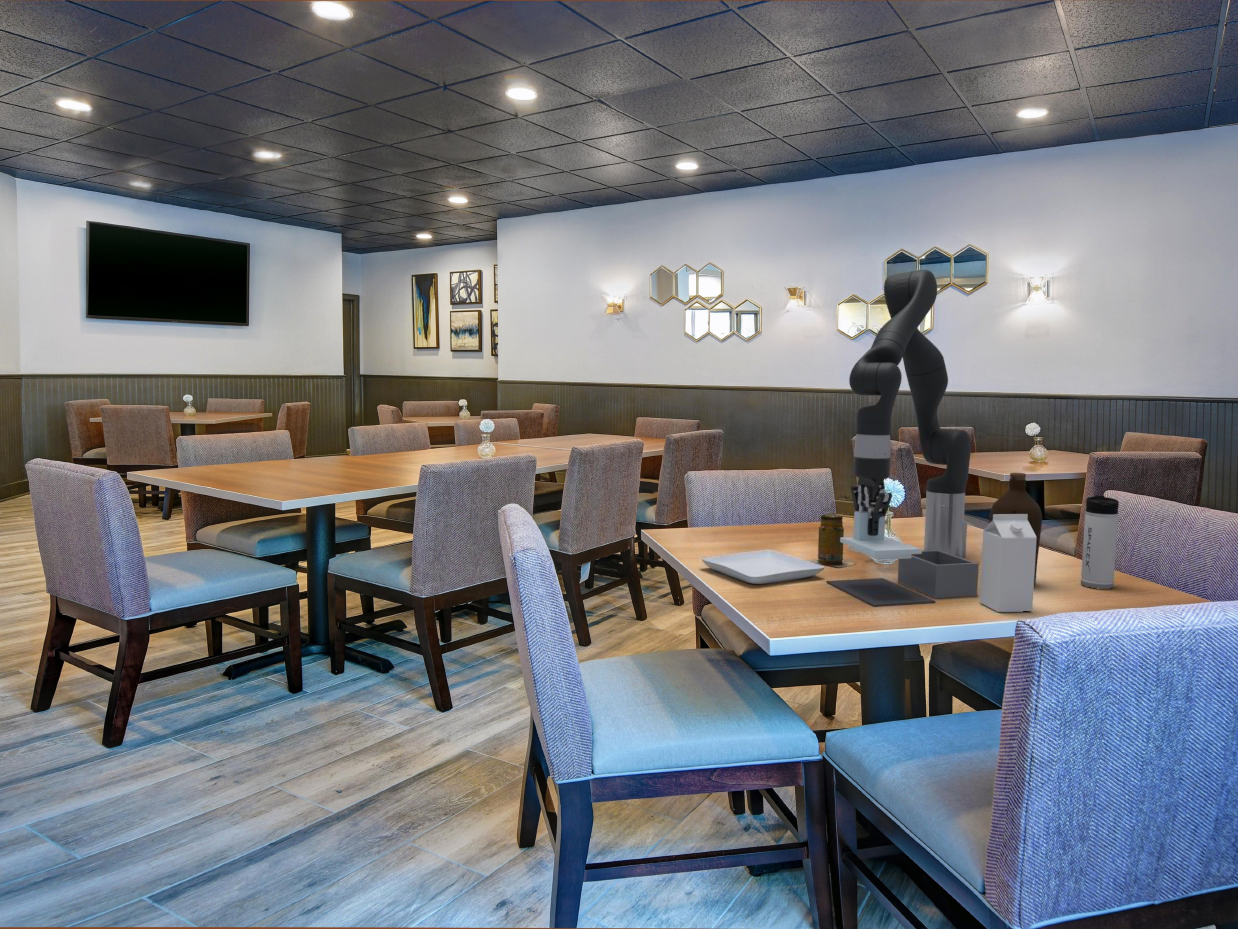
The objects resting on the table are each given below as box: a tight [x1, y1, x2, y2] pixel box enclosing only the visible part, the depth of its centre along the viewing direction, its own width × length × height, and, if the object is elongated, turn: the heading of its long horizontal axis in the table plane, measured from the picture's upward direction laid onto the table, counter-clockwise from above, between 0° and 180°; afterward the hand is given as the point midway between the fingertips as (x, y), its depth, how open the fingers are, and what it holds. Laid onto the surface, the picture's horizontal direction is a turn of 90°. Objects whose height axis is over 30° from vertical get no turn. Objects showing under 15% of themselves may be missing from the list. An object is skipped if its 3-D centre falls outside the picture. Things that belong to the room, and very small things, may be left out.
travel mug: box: [1080, 495, 1120, 590], centre depth 180 cm, size 6×7×20 cm
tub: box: [897, 550, 980, 600], centre depth 177 cm, size 14×10×7 cm
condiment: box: [809, 513, 855, 568], centre depth 202 cm, size 7×8×12 cm
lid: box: [840, 510, 923, 561], centre depth 173 cm, size 15×11×8 cm
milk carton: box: [978, 514, 1037, 613], centre depth 162 cm, size 7×7×19 cm
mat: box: [826, 577, 936, 608], centre depth 174 cm, size 14×20×1 cm
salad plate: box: [700, 549, 826, 585], centre depth 191 cm, size 21×21×3 cm
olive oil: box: [988, 472, 1043, 587], centre depth 182 cm, size 11×11×25 cm
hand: (868, 533), depth 178 cm, fingers closed on lid, 2 cm apart
